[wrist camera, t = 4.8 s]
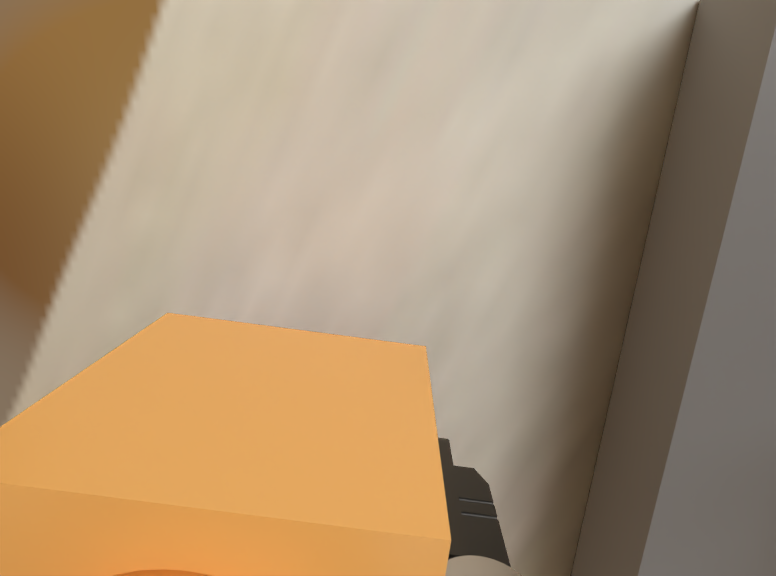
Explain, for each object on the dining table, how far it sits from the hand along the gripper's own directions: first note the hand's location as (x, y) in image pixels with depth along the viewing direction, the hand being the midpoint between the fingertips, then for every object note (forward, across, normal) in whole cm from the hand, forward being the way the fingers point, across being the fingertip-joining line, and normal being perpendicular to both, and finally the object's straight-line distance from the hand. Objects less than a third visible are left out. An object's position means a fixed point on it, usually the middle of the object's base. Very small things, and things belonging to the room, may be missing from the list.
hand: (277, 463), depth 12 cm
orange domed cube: (+1, 0, 0) cm, 1 cm away
